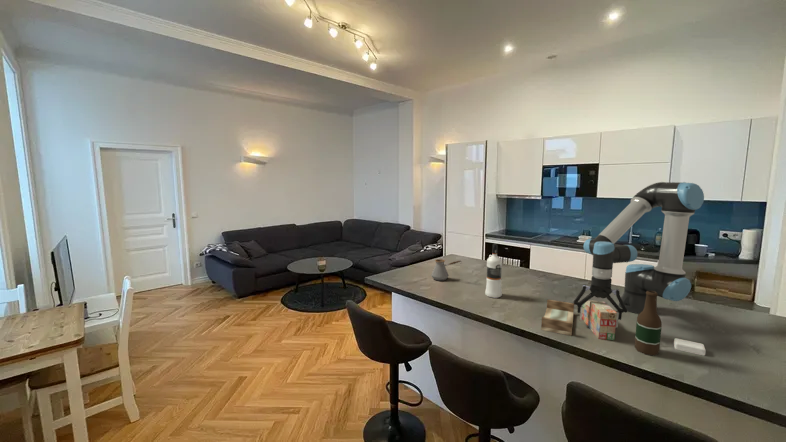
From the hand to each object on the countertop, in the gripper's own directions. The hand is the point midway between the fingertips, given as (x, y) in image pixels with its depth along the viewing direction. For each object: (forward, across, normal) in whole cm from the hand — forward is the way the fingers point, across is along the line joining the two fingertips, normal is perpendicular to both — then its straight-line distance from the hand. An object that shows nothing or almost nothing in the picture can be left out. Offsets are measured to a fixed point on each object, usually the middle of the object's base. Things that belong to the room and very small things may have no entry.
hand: (598, 323), depth 150 cm
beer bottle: (+3, +16, -13) cm, 21 cm away
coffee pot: (+3, -85, +35) cm, 92 cm away
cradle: (+3, -16, 0) cm, 16 cm away
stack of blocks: (+3, 0, 0) cm, 3 cm away
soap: (+3, +31, -4) cm, 31 cm away
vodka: (+3, -51, +21) cm, 55 cm away
